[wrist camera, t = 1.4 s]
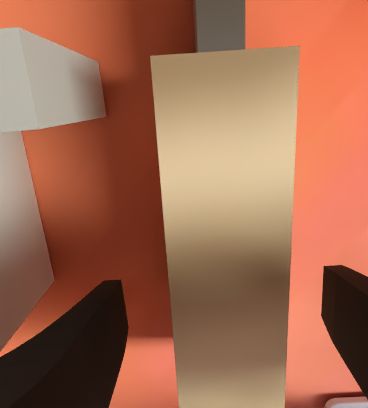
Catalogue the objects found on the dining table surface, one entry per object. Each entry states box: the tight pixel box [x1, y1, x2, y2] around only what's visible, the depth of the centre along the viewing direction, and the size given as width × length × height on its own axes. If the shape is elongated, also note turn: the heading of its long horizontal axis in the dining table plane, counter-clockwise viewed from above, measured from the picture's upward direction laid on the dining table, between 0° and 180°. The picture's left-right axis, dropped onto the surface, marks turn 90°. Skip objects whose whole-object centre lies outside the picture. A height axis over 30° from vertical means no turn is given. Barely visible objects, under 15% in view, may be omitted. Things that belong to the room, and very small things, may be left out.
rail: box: [150, 0, 300, 408], centre depth 11 cm, size 15×4×5 cm, turn 3°
